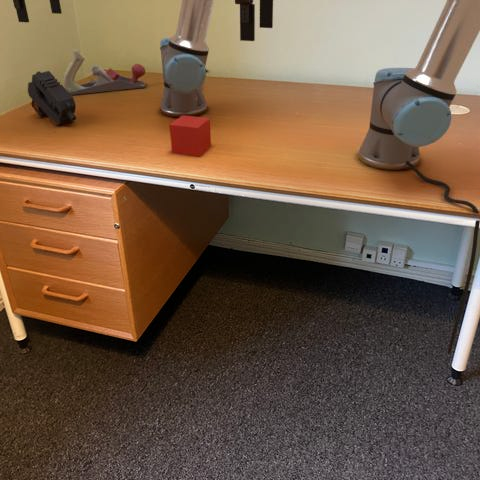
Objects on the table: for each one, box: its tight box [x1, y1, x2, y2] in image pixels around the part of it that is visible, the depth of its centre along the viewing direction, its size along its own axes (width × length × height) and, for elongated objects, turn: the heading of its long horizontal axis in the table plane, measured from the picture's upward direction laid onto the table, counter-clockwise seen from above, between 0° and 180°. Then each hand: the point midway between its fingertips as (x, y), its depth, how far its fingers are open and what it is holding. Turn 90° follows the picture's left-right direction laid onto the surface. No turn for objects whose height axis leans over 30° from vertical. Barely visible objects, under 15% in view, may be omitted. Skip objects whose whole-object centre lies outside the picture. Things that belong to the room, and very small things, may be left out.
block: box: [169, 115, 212, 158], centre depth 145 cm, size 8×8×8 cm
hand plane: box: [62, 48, 146, 96], centre depth 194 cm, size 7×31×15 cm, turn 107°
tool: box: [27, 70, 77, 126], centre depth 167 cm, size 6×19×15 cm, turn 51°
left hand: (41, 17), depth 142 cm, fingers open, 13 cm apart
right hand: (257, 33), depth 109 cm, fingers open, 13 cm apart
